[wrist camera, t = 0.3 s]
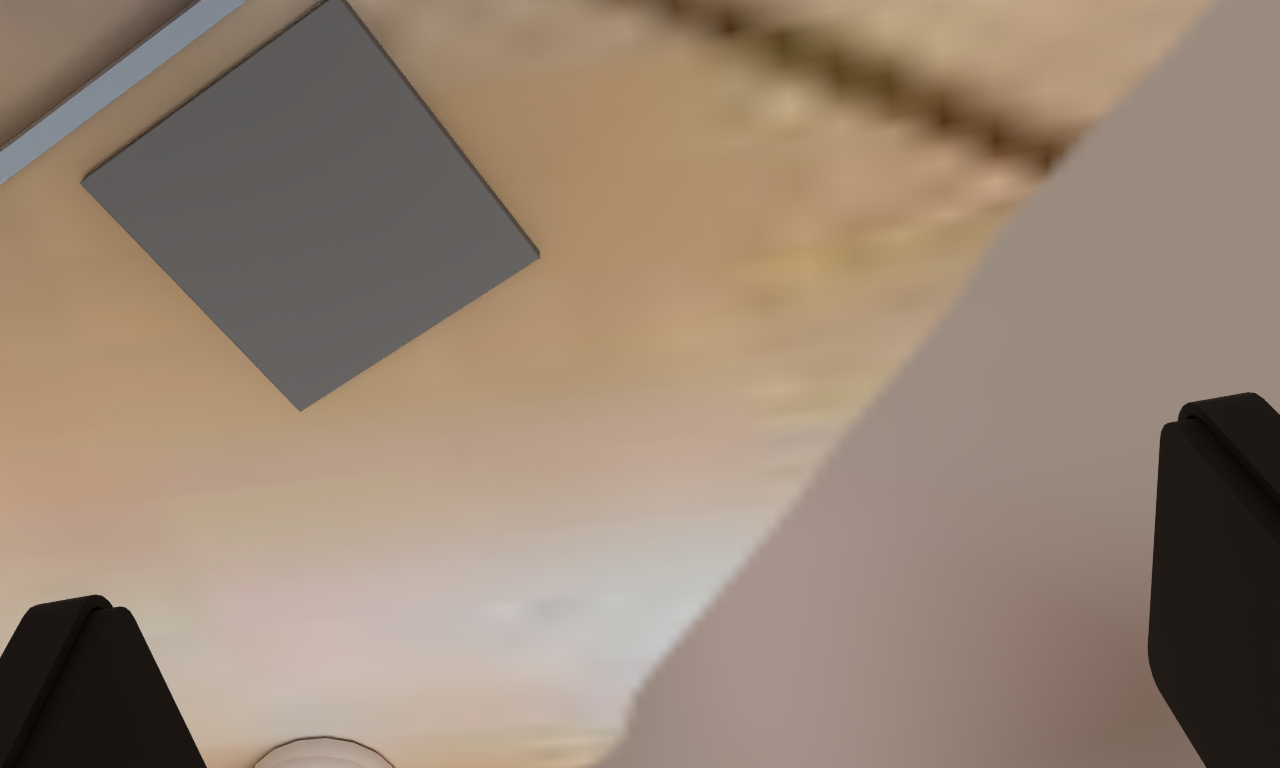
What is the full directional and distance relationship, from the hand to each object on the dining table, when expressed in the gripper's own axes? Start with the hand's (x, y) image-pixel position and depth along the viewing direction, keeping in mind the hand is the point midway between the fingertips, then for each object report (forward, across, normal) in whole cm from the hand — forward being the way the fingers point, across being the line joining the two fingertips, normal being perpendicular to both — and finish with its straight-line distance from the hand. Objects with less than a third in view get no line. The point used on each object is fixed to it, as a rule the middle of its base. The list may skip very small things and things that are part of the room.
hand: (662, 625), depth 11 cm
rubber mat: (+36, +12, +8) cm, 39 cm away
